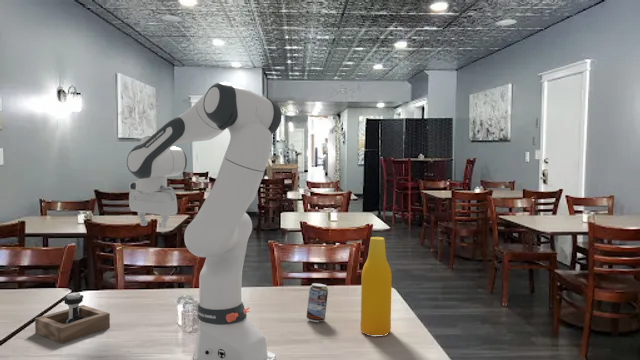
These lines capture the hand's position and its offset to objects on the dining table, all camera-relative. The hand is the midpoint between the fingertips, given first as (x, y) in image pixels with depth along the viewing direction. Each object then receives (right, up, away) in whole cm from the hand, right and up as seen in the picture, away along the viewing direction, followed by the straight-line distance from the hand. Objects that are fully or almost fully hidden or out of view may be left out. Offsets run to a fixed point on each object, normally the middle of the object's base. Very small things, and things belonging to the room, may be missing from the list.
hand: (153, 226), depth 162 cm
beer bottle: (+72, -31, -12) cm, 80 cm away
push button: (-19, -29, -15) cm, 38 cm away
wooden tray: (-19, -30, -15) cm, 38 cm away
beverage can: (+54, -30, -3) cm, 62 cm away
